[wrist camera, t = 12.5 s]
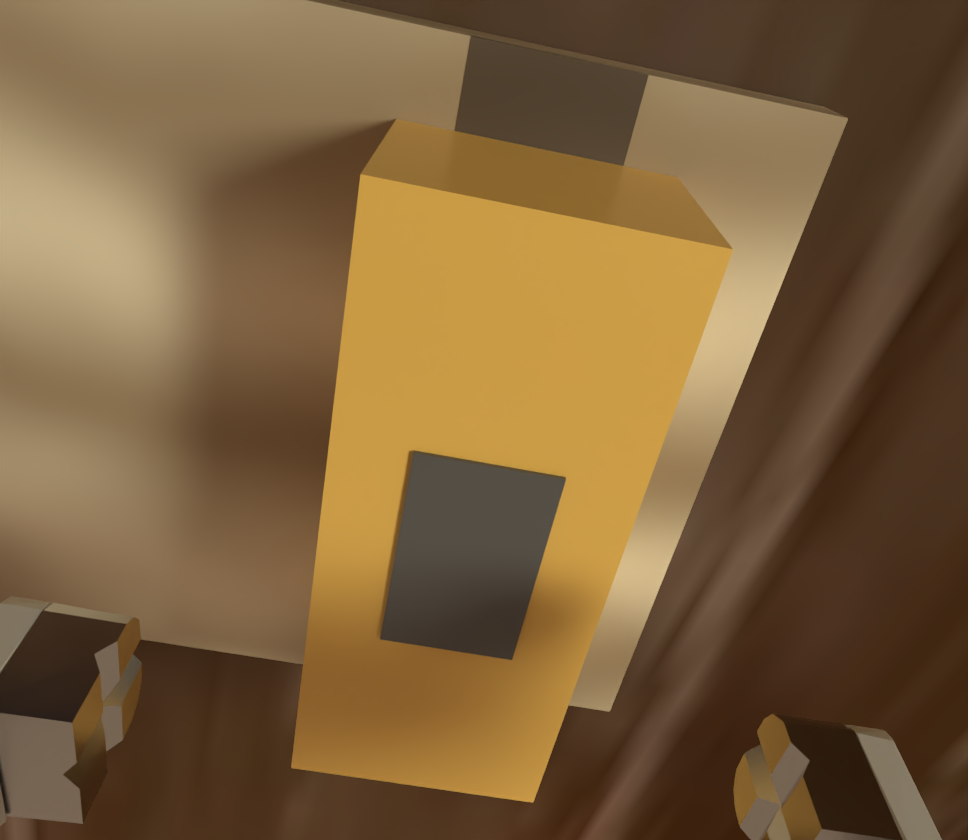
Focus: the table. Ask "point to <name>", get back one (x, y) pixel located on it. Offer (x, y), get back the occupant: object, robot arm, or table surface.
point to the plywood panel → (296, 284)
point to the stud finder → (489, 448)
